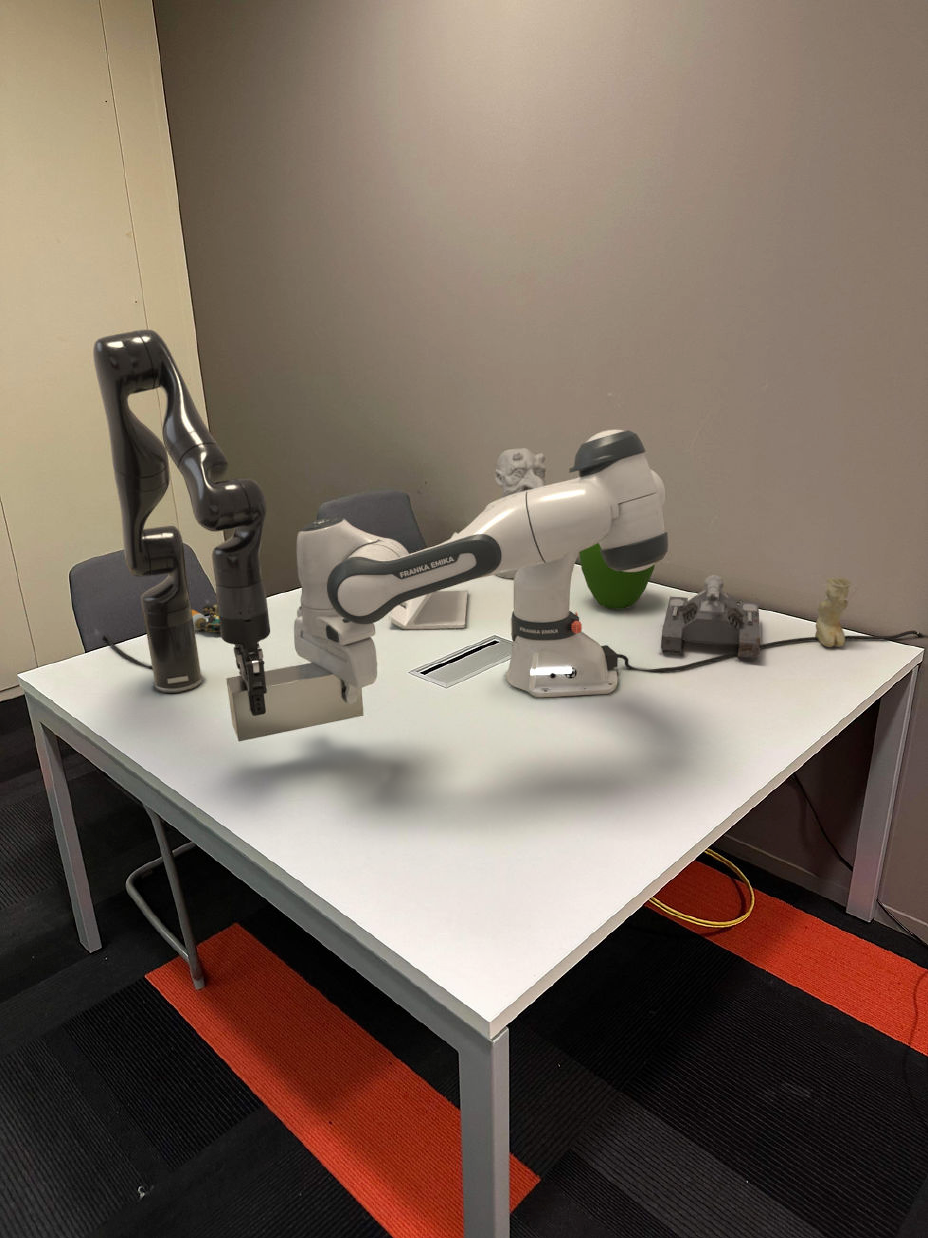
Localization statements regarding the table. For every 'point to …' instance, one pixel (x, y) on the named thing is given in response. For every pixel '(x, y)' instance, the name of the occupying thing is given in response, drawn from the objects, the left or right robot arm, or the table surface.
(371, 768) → the table surface
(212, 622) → the spray gun
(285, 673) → the box
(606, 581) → the vase
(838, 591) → the sculpture
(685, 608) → the toy
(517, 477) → the bust sculpture
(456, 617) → the tablet stand
